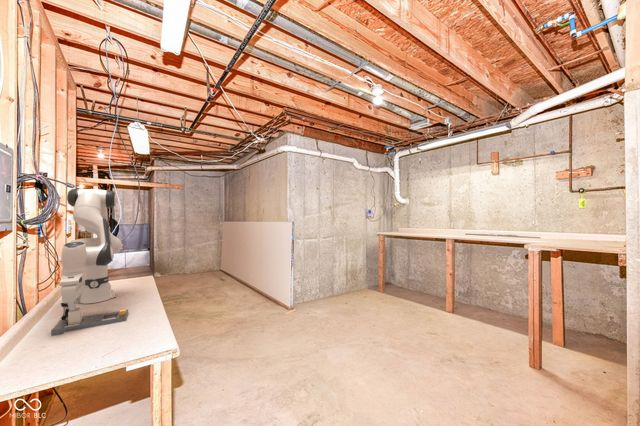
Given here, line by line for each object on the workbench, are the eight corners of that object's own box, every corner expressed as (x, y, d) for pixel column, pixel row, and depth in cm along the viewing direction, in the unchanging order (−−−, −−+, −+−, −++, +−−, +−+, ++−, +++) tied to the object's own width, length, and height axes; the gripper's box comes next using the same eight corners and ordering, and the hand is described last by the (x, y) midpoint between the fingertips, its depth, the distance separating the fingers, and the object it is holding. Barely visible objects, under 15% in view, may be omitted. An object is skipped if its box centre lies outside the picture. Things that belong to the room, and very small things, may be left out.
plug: (70, 326, 122) (70, 308, 122) (82, 324, 124) (82, 306, 124) (68, 329, 118) (68, 311, 118) (79, 327, 120) (79, 309, 120)
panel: (60, 326, 123) (60, 320, 123) (128, 315, 136) (128, 309, 136) (51, 337, 112) (51, 330, 112) (125, 323, 126) (125, 317, 126)
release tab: (120, 318, 130) (120, 310, 130) (125, 317, 132) (125, 309, 132) (119, 319, 128) (119, 311, 128) (125, 318, 130) (125, 310, 130)
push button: (55, 323, 126) (55, 303, 126) (59, 320, 131) (59, 300, 131) (74, 320, 130) (73, 300, 130) (76, 317, 134) (76, 298, 134)
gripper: (72, 273, 128) (72, 300, 129) (57, 283, 111) (58, 315, 111) (89, 271, 132) (89, 298, 132) (77, 281, 114) (77, 312, 114)
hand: (75, 306), depth 121 cm, fingers open, 8 cm apart
